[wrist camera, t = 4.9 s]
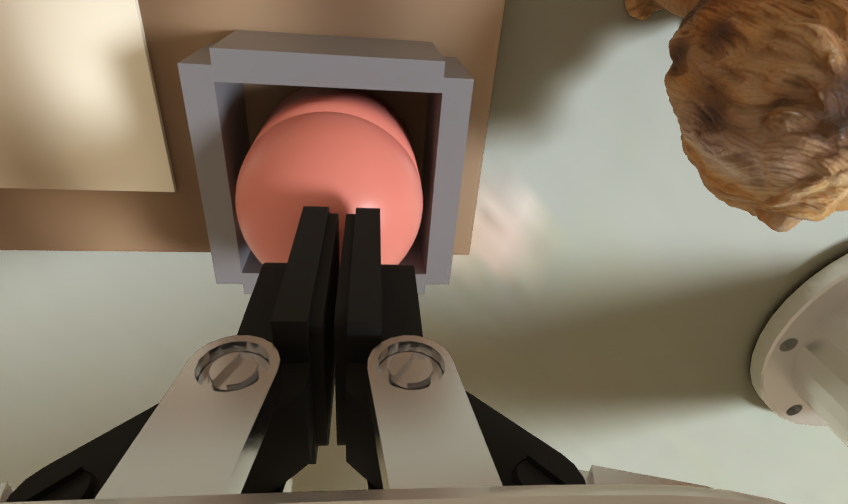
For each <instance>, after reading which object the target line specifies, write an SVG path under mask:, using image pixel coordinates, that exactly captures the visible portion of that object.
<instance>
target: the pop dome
mask: <svg viewBox="0 0 848 504" xmlns="http://www.w3.org/2000/svg"><path fill="white" fill-rule="evenodd" d="M235 203H236V213H237V218H238V222H239V226H240V229H241V232H242V234H243V237H244V239H245V241H246V243H247V244H248V246H249V248H250V249H251V251H252V252H253V253H254V255H255V256H256V258H257V259H258V260H259V261H260V262H261V263H262V264H263V263H265V262H270V263H287V262H288V259H289V255H290V252H291V248H292V245H293V241H294V238H295V234H296V231H297V227H298V223H299V220H300V216H301V213H302V209H303V207H304V206H319V207H329V210H330V213H338V214H339V245H340V263H341V254H342V245H343V236H344V228H345V219H346V214H355V213H356V208H380V228H381V264H391V265H398V264H399V263H400V262H401V261H402V259H403V258H404V257H405V256H406V254H407V253H408V251H409V250H410V248H411V246H412V244H413V242H414V240H415V238H416V236H417V233H418V230H419V227H420V223H421V218H422V211H423V194H422V186H421V181H420V176H419V172H418V167H417V163H416V159H415V154H414V150H413V145H412V142H411V138H410V135H409V133H408V131H407V128H406V126H405V125H404V123H403V121H402V120H401V118H400V117H399V116H398V114H397V113H396V112H395V111H394V110H393V109H392V108H391V107H390V106H389V105H388V104H387V103H386V102H385V101H383V100H382V99H381V98H379V97H378V96H376V95H374V94H373V93H371V92H369V91H367V90H364V89H349V88H329V87H305V88H303V89H300V90H298V91H296V92H294V93H292V94H291V95H289V96H288V97H286V98H285V99H284V100H283V101H281V102H280V103H279V104H278V105H277V106H276V107H275V108H274V110H273V111H272V112H271V113H270V115H269V117H268V118H267V120H266V122H265V123H264V125H263V127H262V129H261V130H260V132H259V134H258V136H257V137H256V139H255V141H254V143H253V144H252V146H251V148H250V150H249V151H248V153H247V155H246V157H245V159H244V161H243V164H242V166H241V169H240V171H239V175H238V179H237V183H236V194H235Z"/></svg>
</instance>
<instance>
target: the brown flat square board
mask: <svg viewBox="0 0 848 504" xmlns="http://www.w3.org/2000/svg"><path fill="white" fill-rule="evenodd" d="M504 5H505V0H0V250H54V251H153V252H211V249H210V243H209V238H208V232H207V227H206V221H205V215H204V210H203V204H202V199H201V193H200V187H199V182H198V176H197V171H196V165H195V159H194V154H193V148H192V143H191V137H190V131H189V126H188V120H187V115H186V109H185V103H184V98H183V92H182V87H181V81H180V75H179V70H178V64H177V63H178V62H180V61H182V60H183V59H185V58H186V57H188V56H190V55H191V54H193V53H194V52H196V51H198V50H199V49H201V48H202V47H204V46H206V45H207V44H209V43H217V42H219V41H220V40H222V39H223V38H225V37H226V36H228V35H229V34H231V33H232V32H234V31H235V30H249V31H265V32H281V33H297V34H313V35H329V36H345V37H361V38H377V39H393V40H409V41H424V42H433V44H434V45H435V47H436V48H437V50H438V51H439V53H440V54H441V56H444V57H457V59H458V60H459V61H460V62H461V64H462V65H463V66H464V67H465V69H466V70H467V71H468V72H469V74H470V75H471V76H472V77H473V79H474V83H473V91H472V100H471V108H470V116H469V124H468V133H467V141H466V149H465V157H464V165H463V174H462V182H461V190H460V198H459V207H458V215H457V223H456V231H455V239H454V248H453V255H469V252H470V245H471V238H472V231H473V224H474V217H475V209H476V202H477V195H478V188H479V181H480V174H481V167H482V160H483V153H484V146H485V139H486V132H487V125H488V118H489V111H490V104H491V97H492V90H493V83H494V76H495V69H496V62H497V55H498V48H499V41H500V33H501V26H502V19H503V12H504ZM305 87H309V86H289V85H269V84H249V83H243V90H244V99H245V107H246V116H247V125H248V133H249V142H250V148H251V146H252V144H253V143H254V141H255V139H256V137H257V136H258V134H259V132H260V130H261V129H262V127H263V125H264V123H265V122H266V120H267V118H268V117H269V115H270V113H271V112H272V111H273V110H274V108H275V107H276V106H277V105H278V104H279V103H280V102H281V101H283V100H284V99H285V98H286V97H288V96H289V95H291V94H292V93H294V92H296V91H298V90H300V89H303V88H305ZM364 90H367V91H369V92H371V93H373V94H374V95H376V96H378V97H379V98H381V99H382V100H383V101H385V102H386V103H387V104H388V105H389V106H390V107H391V108H392V109H393V110H394V111H395V112H396V113H397V114H398V116H399V117H400V118H401V120H402V121H403V123H404V125H405V126H406V128H407V131H408V133H409V135H410V138H411V142H412V145H413V150H414V154H415V159H416V163H417V167H418V172H419V176H420V181H421V183H422V170H423V157H424V144H425V131H426V118H427V104H428V92H408V91H389V90H369V89H364Z"/></svg>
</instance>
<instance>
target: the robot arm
mask: <svg viewBox="0 0 848 504" xmlns="http://www.w3.org/2000/svg"><path fill="white" fill-rule="evenodd" d="M750 374H751V380H752V385H753V387H754V389H755V390H756V392H757V394H758V396H759V397H760V398H761V399H762V400H763V401H764V402H765V404H766V405H767V406H768V407H769V408H770V409H771V410H772V412H774V413H775V414H777V415H778V416H779V417H781V418H783V419H785V420H788V421H791V422H794V423H797V424H804V425H812V426H828V427H829V428H830V429H831V430H832V431H833V432H834V433H835V434H836V435H837V436H838V437H839V438H840V439H841V440H842V441H843V442H844V443H845V444H846V445H847V446H848V253H847V254H846V255H844V256H842V257H841V258H839V259H837V260H835V261H834V262H832V263H830V264H829V265H827V266H826V267H824V268H823V269H822V270H820V271H819V272H818V273H816V274H815V275H814V276H812V277H811V278H809V279H808V280H807V281H806V282H804V283H803V284H802V285H801V286H800V287H799V288H798V289H797V290H796V291H795V292H794V293H793V294H791V295H790V296H789V297H788V298H787V299H786V300H785V301H784V303H783V304H782V305H781V306H780V307H779V309H778V310H777V311H776V312H775V313H774V314H773V316H772V317H771V318H770V320H769V321H768V323H767V325H766V326H765V328H764V329H763V331H762V333H761V334H760V336H759V339H758V341H757V344H756V346H755V349H754V351H753V354H752V360H751V367H750ZM334 384H335V390H336V425H337V445H346V462H347V463H349V464H350V465H351V466H352V467H353V468H354V469H355V470H356V471H358V472H359V473H360V474H361V475H362V476H363V477H364V478H365V490H346V491H314V492H292V485H293V478H292V477H293V476H294V475H295V474H297V473H298V472H299V471H300V470H302V469H303V468H304V467H305V466H307V465H308V464H316V459H317V450H318V446H326V445H328V444H329V436H330V426H331V415H332V405H333V394H334ZM0 504H785V503H782V502H779V501H775V500H772V499H769V498H764V497H759V496H754V495H749V494H744V493H739V492H734V491H730V490H722V489H714V488H711V487H708V486H703V485H697V484H692V483H687V482H681V481H676V480H670V479H665V478H659V477H654V476H649V475H643V474H638V473H632V472H627V471H621V470H616V469H611V468H605V467H600V466H594V465H592V466H591V468H590V471H589V472H588V471H583V470H578V469H577V467H576V466H575V465H574V464H573V463H572V462H571V461H570V460H568V459H567V458H566V457H565V456H564V455H562V454H561V453H559V452H558V451H556V450H555V449H553V448H552V447H550V446H549V445H547V444H546V443H544V442H543V441H541V440H540V439H538V438H537V437H535V436H534V435H532V434H531V433H529V432H527V431H526V430H524V429H523V428H521V427H520V426H518V425H517V424H515V423H514V422H512V421H511V420H509V419H508V418H506V417H505V416H503V415H502V414H500V413H499V412H497V411H496V410H494V409H493V408H491V407H489V406H488V405H486V404H485V403H483V402H482V401H480V400H479V399H477V398H476V397H474V396H473V395H471V394H470V393H468V392H467V391H465V389H464V387H463V384H462V382H461V379H460V377H459V374H458V372H457V369H456V367H455V364H454V361H453V359H452V358H451V356H450V354H449V353H448V351H447V350H446V349H445V348H443V347H442V346H441V345H440V344H439V343H437V342H434V341H432V340H430V339H428V338H424V337H423V334H422V326H421V318H420V309H419V301H418V292H417V284H416V276H415V268H414V265H391V264H381V228H380V208H356V213H355V214H346V219H345V228H344V236H343V245H342V254H341V263H340V245H339V214H338V213H330V210H329V207H319V206H304V207H303V209H302V213H301V216H300V220H299V223H298V227H297V231H296V234H295V238H294V241H293V245H292V248H291V252H290V255H289V259H288V262H287V263H270V262H265V263H263V265H262V267H261V270H260V273H259V276H258V278H257V281H256V284H255V287H254V290H253V292H252V295H251V298H250V301H249V303H248V306H247V309H246V312H245V314H244V317H243V320H242V323H241V326H240V328H239V331H238V334H237V335H235V336H230V337H225V338H221V339H219V340H216V341H214V342H211V343H209V344H207V345H206V346H204V347H203V348H201V349H200V350H198V351H197V352H196V353H195V354H194V355H193V356H192V357H191V358H190V359H189V360H188V362H187V363H186V365H185V366H184V368H183V369H182V371H181V372H180V374H179V375H178V377H177V378H176V380H175V381H174V382H173V384H172V385H171V387H170V388H169V390H168V391H167V393H166V394H165V396H164V397H163V399H162V400H161V402H160V403H159V404H157V405H155V406H153V407H151V408H150V409H148V410H146V411H144V412H142V413H141V414H139V415H137V416H135V417H133V418H132V419H130V420H128V421H126V422H124V423H123V424H121V425H119V426H117V427H115V428H114V429H112V430H110V431H108V432H106V433H105V434H103V435H101V436H99V437H98V438H96V439H94V440H92V441H90V442H89V443H87V444H85V445H83V446H81V447H80V448H78V449H76V450H74V451H72V452H71V453H69V454H67V455H65V456H63V457H62V458H60V459H58V460H56V461H54V462H53V463H51V464H49V465H47V466H45V467H44V468H42V469H41V470H39V471H38V472H36V473H35V474H33V475H32V476H30V477H29V478H27V479H26V480H25V481H24V482H23V483H22V484H21V485H20V486H18V487H17V488H13V489H11V488H10V486H9V484H8V482H3V483H0Z"/></svg>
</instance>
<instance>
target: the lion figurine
mask: <svg viewBox="0 0 848 504" xmlns="http://www.w3.org/2000/svg"><path fill="white" fill-rule="evenodd" d="M625 8H626V10H627V12H628V14H629V15H630V16H632V17H636V18H638V19H639V20H645V19H647V18H648V17H649V16H650V15H651V14H652V13H653V12H654V11H655V10H663V9H666V10H668V11H669V12H671V13H672V14H674V15H676V16H678V17H682V18H684V19H683V21H682V23H681V25H680V27H679V29H678V30H677V31H676V32H675V34H674V35H673V38H672V39H671V40H670V41H669V52H670V57H671V59H672V61H673V63H672V65H671V67H670V69H669V71H668V72H667V74H666V75H665V80H664V82H665V86H666V88H667V89H666V91H667V94H668V96H669V101H670V103H671V105H672V107H673V111H674V113H675V115H676V116H677V118H678V122H679V124H680V129H681V133H682V135H681V140H682V147H683V151H684V153H685V155H687V157H688V160H689V161H690V162H691V163H692V164H693V165H694V166H695V167H696V168H697V169H698V172H699V175H700V177H701V179H702V182H703V184H704V186H705V187H706V188H707V189H708V190H709V191H710V192H711V193H713V194H714V195H715V196H716V197H717V198H718V199H719V200H722V201H724V202H725V203H726V204H728V205H729V206H731V207H735V208H739V209H742V210H745V211H748V212H749V213H750V214H751V215H752V216H757V217H758V219H759V220H760V221H762V222H764V223H765V224H766V225H768V226H769V227H770V228H771V229H773V230H775V231H777V232H787V231H789V230H790V229H791V228H793V227H794V226H796V225H797V224H798V223H799V222H800V221H802V220H810V221H821V220H823V219H825V218H826V217H827V216H829V215H830V214H831V213H833V212H834V211H845V210H848V0H625Z"/></svg>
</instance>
